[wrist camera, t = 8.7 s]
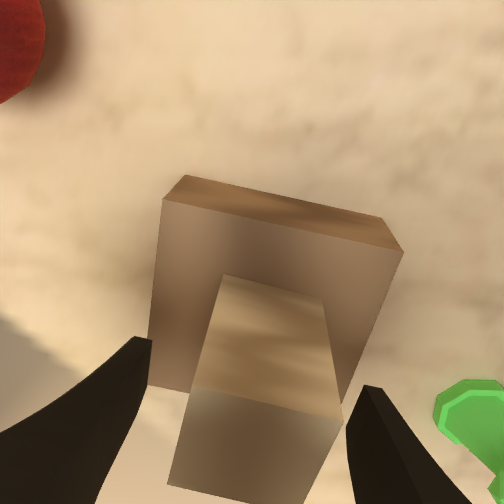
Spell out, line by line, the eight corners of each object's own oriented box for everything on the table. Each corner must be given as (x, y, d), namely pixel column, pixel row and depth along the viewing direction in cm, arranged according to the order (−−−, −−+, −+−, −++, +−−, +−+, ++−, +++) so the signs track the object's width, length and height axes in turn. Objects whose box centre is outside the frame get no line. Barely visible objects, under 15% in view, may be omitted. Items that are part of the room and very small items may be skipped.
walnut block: (380, 215, 18) (403, 252, 15) (325, 364, 22) (333, 423, 18) (187, 172, 18) (162, 199, 14) (165, 331, 22) (142, 383, 18)
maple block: (322, 299, 16) (343, 422, 10) (292, 374, 17) (297, 514, 12) (223, 273, 15) (192, 385, 10) (203, 352, 17) (167, 484, 12)
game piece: (530, 393, 21) (615, 504, 16) (483, 443, 23) (544, 559, 18) (459, 367, 21) (521, 471, 16) (416, 421, 23) (458, 531, 17)
